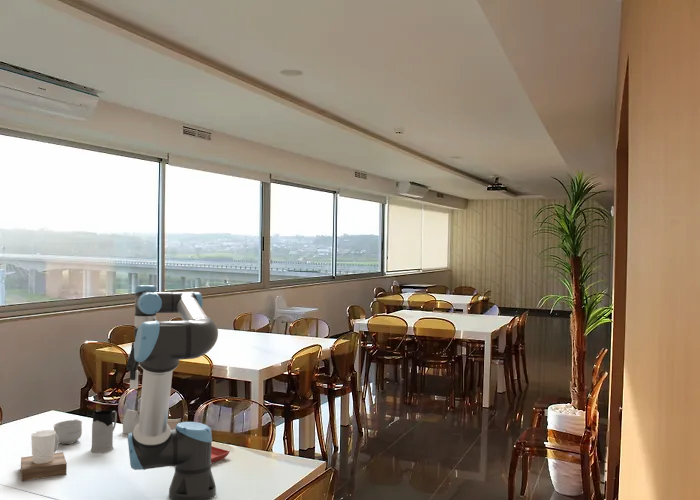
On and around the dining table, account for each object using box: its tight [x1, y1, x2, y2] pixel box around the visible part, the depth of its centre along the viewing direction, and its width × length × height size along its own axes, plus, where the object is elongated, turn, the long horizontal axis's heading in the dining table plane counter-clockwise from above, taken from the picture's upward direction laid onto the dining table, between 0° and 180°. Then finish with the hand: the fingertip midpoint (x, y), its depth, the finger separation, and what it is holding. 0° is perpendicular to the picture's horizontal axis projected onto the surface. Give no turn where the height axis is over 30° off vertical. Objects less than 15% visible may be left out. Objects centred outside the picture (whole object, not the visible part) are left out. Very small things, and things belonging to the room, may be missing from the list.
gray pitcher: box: [89, 409, 118, 454], centre depth 250 cm, size 9×14×15 cm, turn 170°
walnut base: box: [20, 451, 68, 482], centre depth 221 cm, size 14×14×4 cm
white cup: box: [31, 429, 56, 464], centre depth 221 cm, size 8×8×10 cm
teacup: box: [53, 418, 83, 445], centre depth 258 cm, size 14×11×8 cm
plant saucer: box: [211, 445, 230, 464], centre depth 237 cm, size 18×18×3 cm
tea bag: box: [122, 408, 140, 435], centre depth 271 cm, size 4×7×10 cm, turn 61°
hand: (143, 385), depth 224 cm, fingers open, 13 cm apart
